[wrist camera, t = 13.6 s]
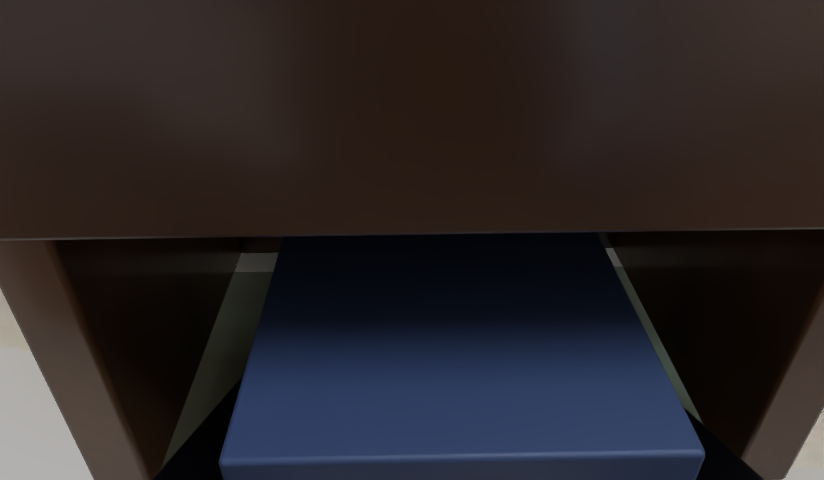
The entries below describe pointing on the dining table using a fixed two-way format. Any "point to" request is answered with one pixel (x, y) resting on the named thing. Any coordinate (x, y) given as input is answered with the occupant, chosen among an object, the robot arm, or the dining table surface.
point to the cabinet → (408, 117)
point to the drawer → (246, 291)
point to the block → (454, 366)
